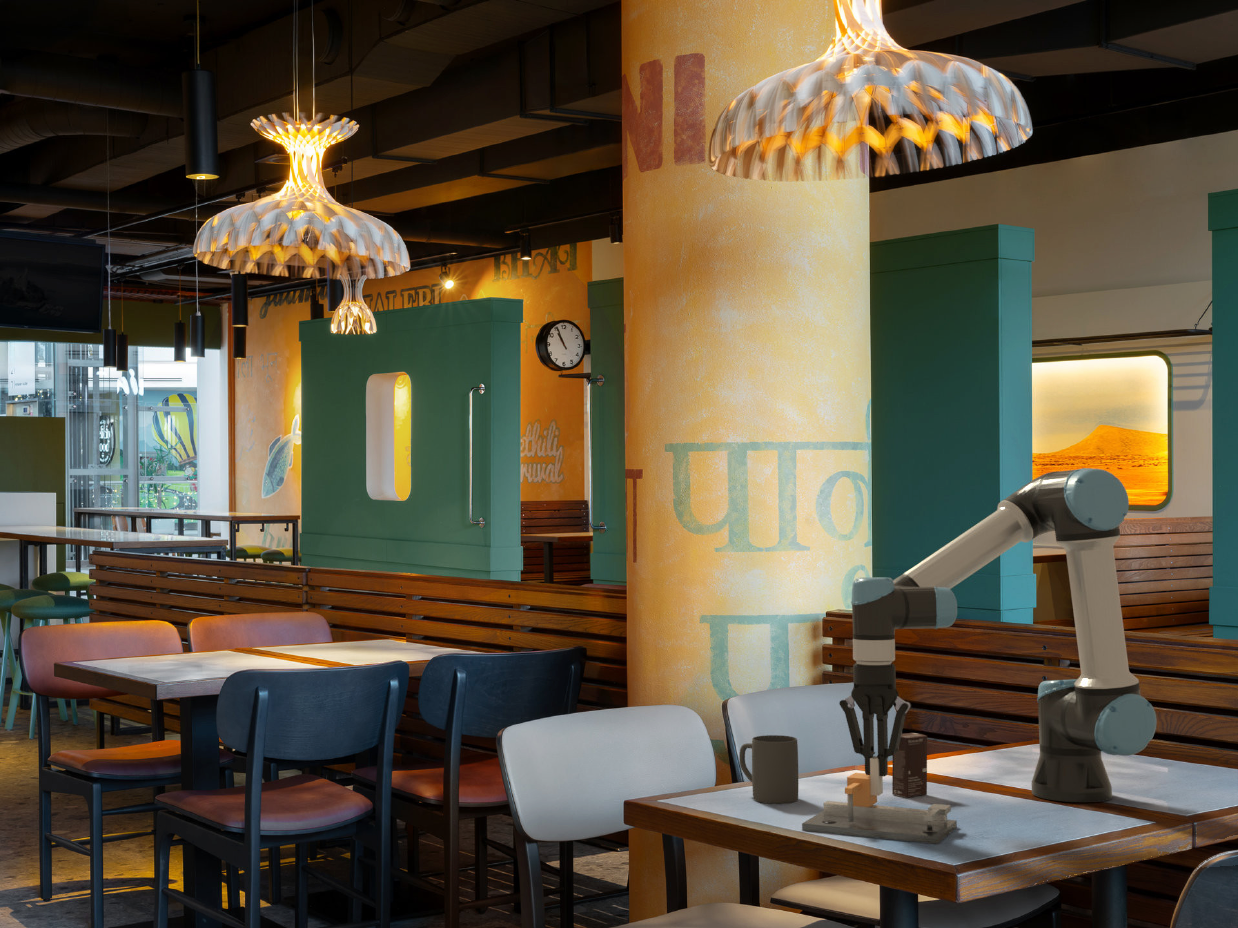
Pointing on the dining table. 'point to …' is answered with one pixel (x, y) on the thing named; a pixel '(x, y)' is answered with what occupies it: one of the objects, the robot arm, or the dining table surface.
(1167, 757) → the dining table surface
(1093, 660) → the robot arm
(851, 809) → the jaw
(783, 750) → the mug
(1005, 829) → the dining table surface
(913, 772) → the box
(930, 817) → the beam
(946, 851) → the dining table surface
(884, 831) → the plate
